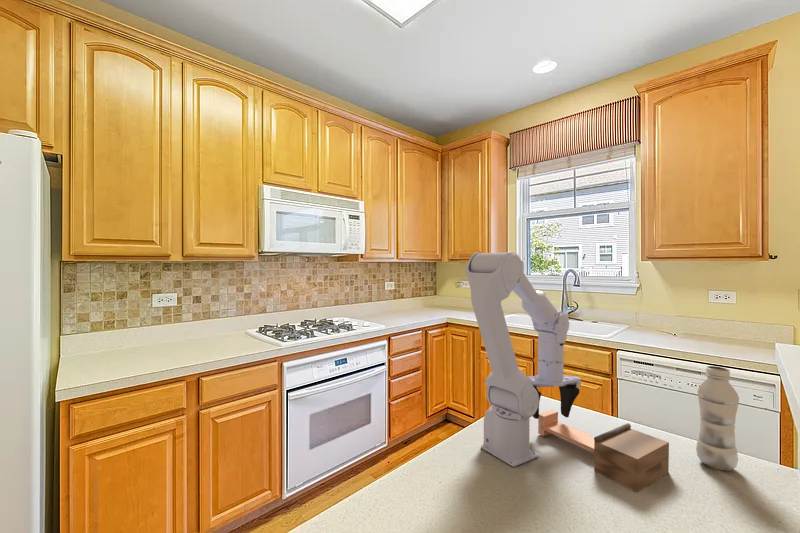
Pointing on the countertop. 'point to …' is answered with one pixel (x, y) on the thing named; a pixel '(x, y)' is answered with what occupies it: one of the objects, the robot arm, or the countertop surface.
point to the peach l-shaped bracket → (563, 430)
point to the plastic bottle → (717, 420)
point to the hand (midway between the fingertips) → (549, 416)
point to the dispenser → (630, 457)
